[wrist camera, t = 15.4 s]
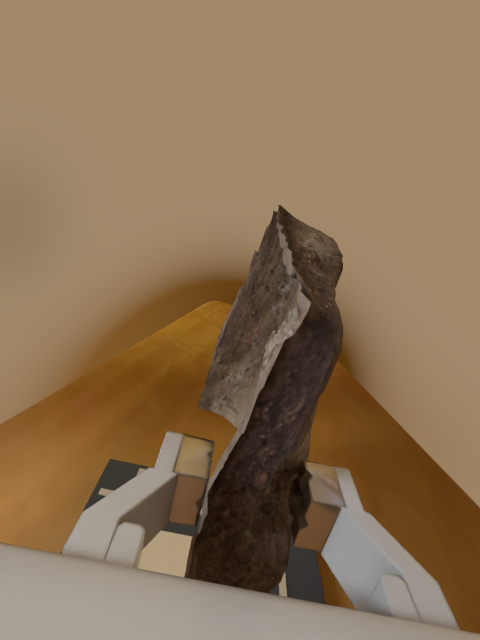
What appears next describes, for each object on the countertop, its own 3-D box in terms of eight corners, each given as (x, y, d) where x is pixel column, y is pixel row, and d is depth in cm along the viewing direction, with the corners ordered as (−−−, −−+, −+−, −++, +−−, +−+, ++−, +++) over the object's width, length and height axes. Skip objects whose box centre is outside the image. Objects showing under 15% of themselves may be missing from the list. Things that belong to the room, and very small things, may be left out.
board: (-101, 886, 13) (-107, 869, 12) (108, 471, 32) (110, 456, 31) (370, 952, 14) (387, 939, 13) (302, 511, 32) (307, 497, 32)
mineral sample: (197, 402, 27) (261, 201, 22) (248, 417, 27) (323, 222, 22) (115, 706, 11) (281, 226, 6) (239, 734, 11) (501, 299, 6)
